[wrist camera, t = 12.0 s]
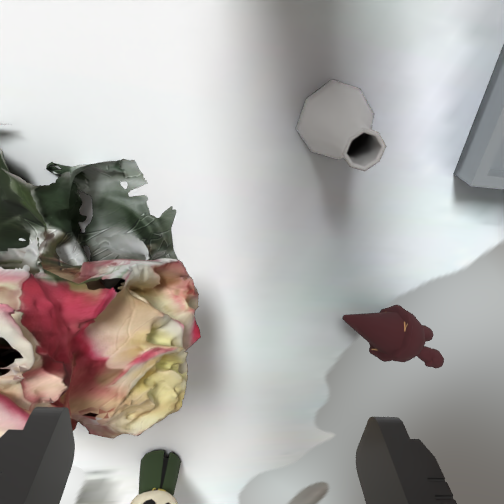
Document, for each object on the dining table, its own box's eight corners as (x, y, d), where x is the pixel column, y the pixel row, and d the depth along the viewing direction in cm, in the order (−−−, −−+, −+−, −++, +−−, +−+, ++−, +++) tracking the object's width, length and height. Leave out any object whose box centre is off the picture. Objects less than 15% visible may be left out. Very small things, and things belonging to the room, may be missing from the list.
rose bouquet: (0, 348, 52) (-224, 681, 26) (-71, 111, 37) (-743, 335, 11) (202, 353, 54) (181, 662, 28) (211, 132, 40) (184, 358, 14)
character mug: (201, 453, 65) (196, 544, 54) (185, 477, 68) (178, 568, 57) (134, 438, 62) (114, 531, 51) (121, 464, 65) (100, 557, 54)
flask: (386, 111, 39) (431, 138, 31) (337, 170, 42) (365, 210, 34) (330, 63, 37) (362, 79, 28) (282, 130, 40) (298, 162, 31)
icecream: (329, 358, 47) (423, 385, 52) (371, 326, 42) (470, 359, 48) (321, 310, 52) (408, 339, 57) (358, 276, 47) (449, 311, 53)
